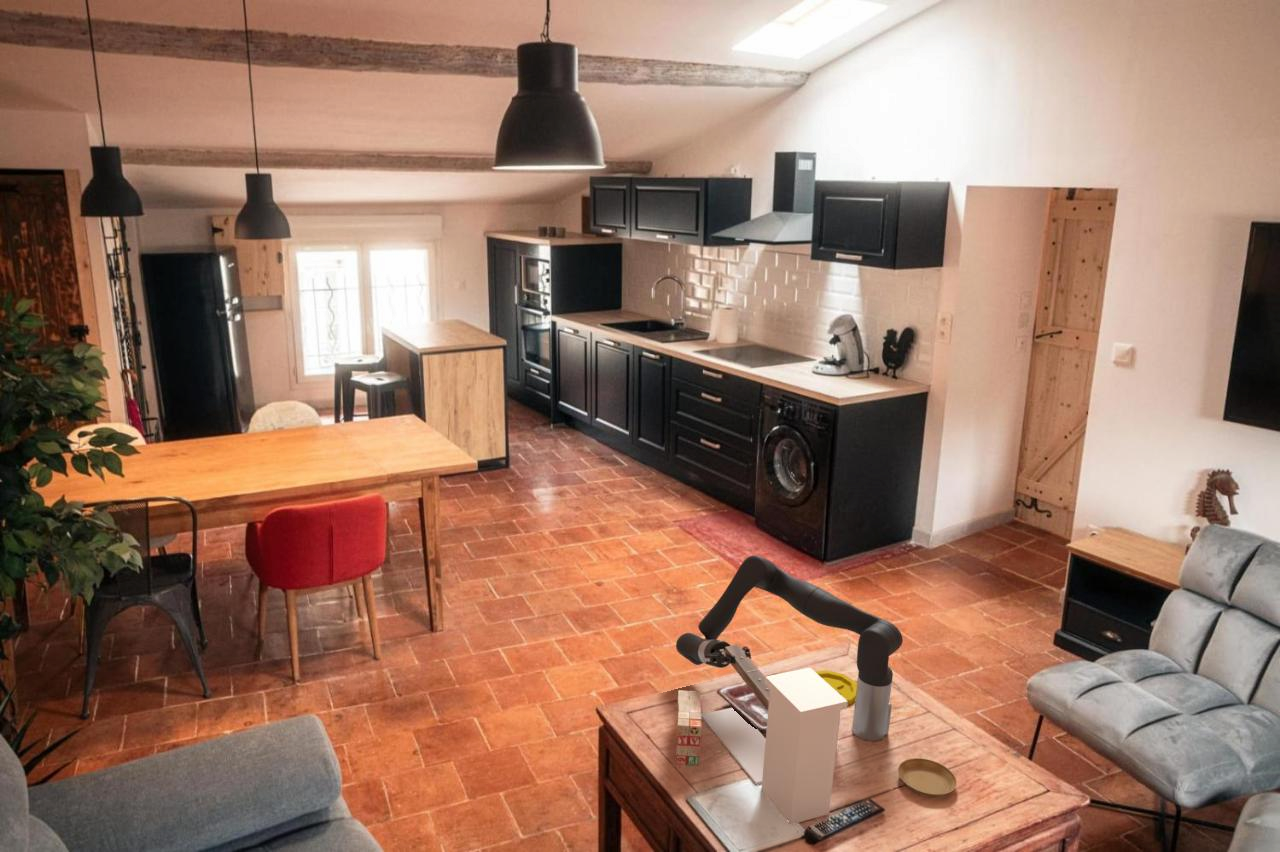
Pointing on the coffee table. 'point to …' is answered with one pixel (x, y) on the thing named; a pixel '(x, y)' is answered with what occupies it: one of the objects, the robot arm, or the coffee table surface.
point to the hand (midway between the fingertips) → (741, 658)
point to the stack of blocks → (688, 728)
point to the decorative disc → (840, 684)
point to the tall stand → (801, 743)
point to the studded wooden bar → (750, 674)
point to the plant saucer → (927, 777)
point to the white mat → (739, 740)
